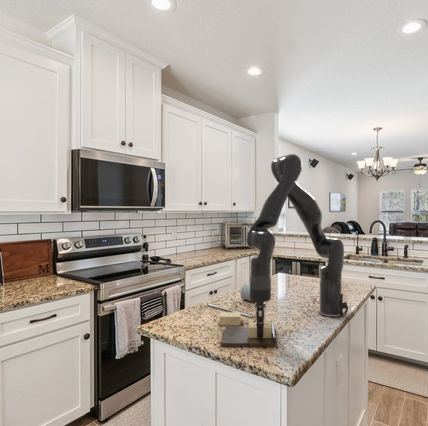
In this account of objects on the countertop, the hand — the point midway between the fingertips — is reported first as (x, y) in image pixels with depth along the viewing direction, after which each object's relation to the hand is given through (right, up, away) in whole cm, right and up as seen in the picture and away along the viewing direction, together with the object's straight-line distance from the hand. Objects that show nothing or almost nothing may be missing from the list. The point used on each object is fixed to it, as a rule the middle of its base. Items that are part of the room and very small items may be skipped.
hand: (260, 333), depth 107 cm
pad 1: (-12, -1, +14) cm, 18 cm away
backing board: (-4, -2, 0) cm, 4 cm away
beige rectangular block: (0, 0, 0) cm, 0 cm away
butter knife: (-14, -1, +29) cm, 32 cm away
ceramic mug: (-3, -1, +46) cm, 46 cm away
